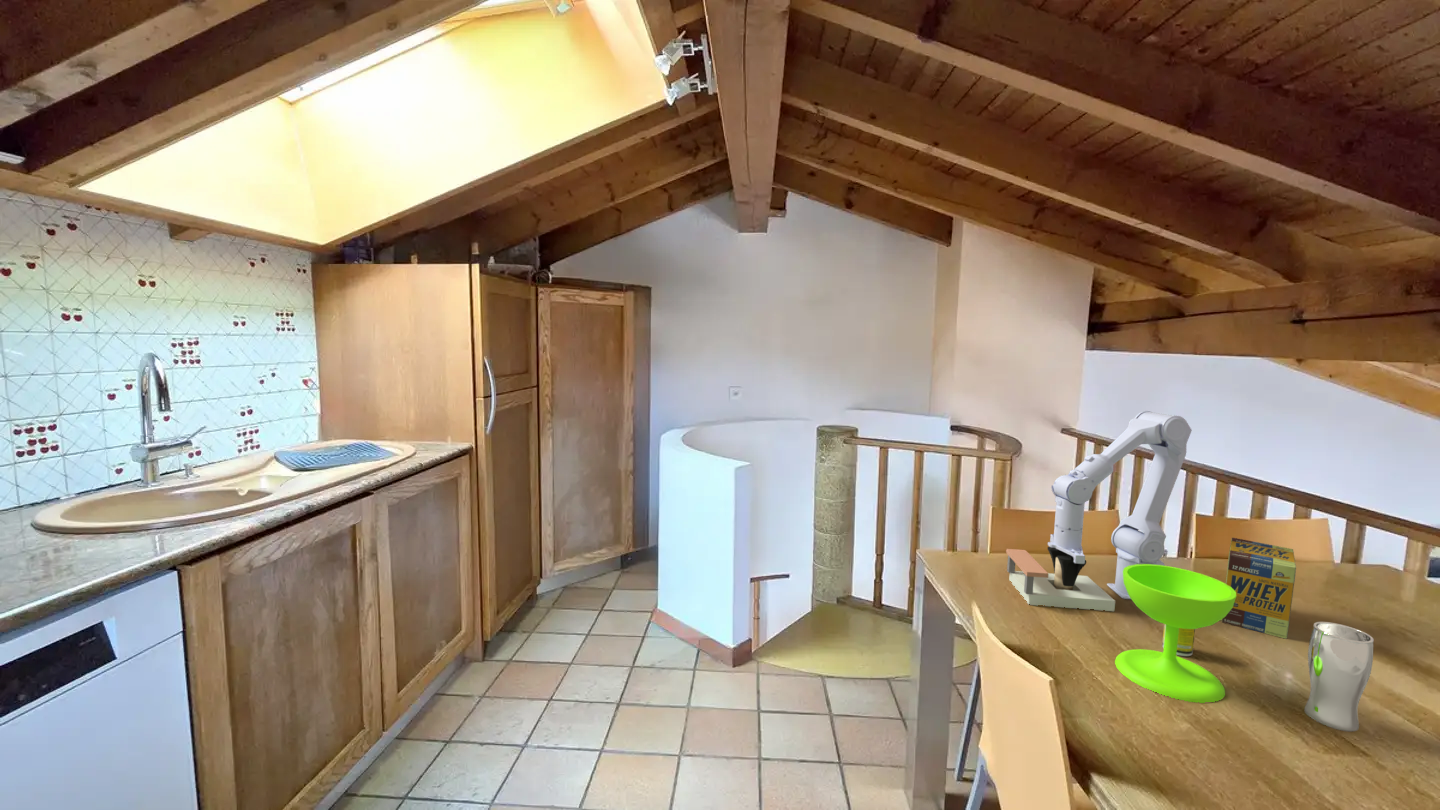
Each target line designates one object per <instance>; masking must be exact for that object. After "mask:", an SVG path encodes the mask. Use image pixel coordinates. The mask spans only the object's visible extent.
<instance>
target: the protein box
mask: <svg viewBox="0 0 1440 810" xmlns="http://www.w3.org/2000/svg"><path fill="white" fill-rule="evenodd" d="M1229 545H1230V546H1229V552H1228V558H1227V559H1228V560H1227V569H1226V577H1225V584H1227V585H1228V586H1230V587H1232V588H1233V590H1234V591H1235V592H1236V599H1235V602H1234V605H1233V608H1232V609H1231V610H1230V611H1229V613H1228V614H1227V615H1226V616H1225V617H1224V618H1223V619H1222V620H1221V623H1224V624H1227V625H1231V626H1235V627H1239V628H1243V629H1246V630H1251V631H1254V632H1259V633H1263V634H1266V635H1269V636H1274V637H1278V638H1280V639H1287V638H1288V632H1289V625H1290V619H1291V610H1292V604H1293V603H1292V602H1293V596H1294V590H1295V589H1294V588H1295V582H1296V581H1295V580H1296V572H1297V565H1296V559H1295V551H1294V549H1293V548H1289V547H1284V546H1277V545H1274V544H1269V543H1263V542H1258V541H1252V540H1247V539H1242V538H1237V537H1231V540H1230V544H1229Z"/></svg>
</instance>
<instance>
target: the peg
mask: <svg viewBox="0 0 1440 810" xmlns="http://www.w3.org/2000/svg"><path fill="white" fill-rule="evenodd" d="M1054 574H1055V576H1054V587H1055V588H1056V589H1061V590H1073V586H1064V585H1063V582H1062V571H1061V565H1060V562H1059V560H1058V558H1057V557H1056V562H1055V573H1054Z"/></svg>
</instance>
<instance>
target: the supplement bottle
mask: <svg viewBox="0 0 1440 810" xmlns="http://www.w3.org/2000/svg"><path fill="white" fill-rule="evenodd" d="M1165 629H1166V624H1163V632H1162V633H1163V634H1162V642H1161V643H1162V645H1161V647H1162V648H1163V649H1164V639H1165ZM1195 632H1196V629H1183V628H1179V634H1178V644H1177V654H1176V656H1178V657H1190V656H1192V655H1193V652H1194V645H1195V643H1194V642H1195Z"/></svg>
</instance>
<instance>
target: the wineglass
mask: <svg viewBox="0 0 1440 810" xmlns="http://www.w3.org/2000/svg"><path fill="white" fill-rule="evenodd" d="M1123 581H1124V585H1125V587H1126V590H1127V592H1128V594H1129V596H1130V598H1131V599H1130V600H1131V601H1132V602H1133V604H1135V606H1136V607H1137V608H1138V609H1139V610H1140V611H1142V613H1144V614H1146V616H1148V617H1149V618H1151V619H1152V620H1154V621H1156V622H1158V623H1161V624H1163V625H1164V624H1166V629H1165V639H1164V648H1163V651H1158V650H1153V649H1144V648H1141V649H1134V648H1133V649H1128V650H1123V651H1122V652H1120V653H1119V654H1118V655H1116V656H1115V657H1116V658H1115V660H1114V664H1115V667H1116V669H1117V670H1118V671H1119V672H1120V673H1121V674H1122V675H1123V676H1124V677H1126V678H1127V679H1128V680H1130V681H1131V682H1132V683H1135V684H1136V685H1138V686H1139V687H1142V688H1144V689H1146V688H1147V689H1146V690H1148V689H1149V690H1148V691H1150V690H1152V691H1151V692H1153V691H1154V692H1153V693H1155V692H1157V693H1159V694H1158V695H1161V694H1162V695H1161V696H1164V695H1165V697H1167V696H1169V697H1168V698H1170V697H1171V699H1173V698H1175V699H1174V700H1178V699H1179V701H1182V700H1184V701H1183V702H1187V701H1188V703H1197V704H1199V703H1200V704H1206V703H1205V702H1213V703H1216V702H1220V701H1221V699H1222V700H1223V698H1224V697H1226V689H1225V687H1224V685H1223V684H1222V683H1221V681H1220V680H1219V678H1217V677H1216V676H1215V674H1213V673H1212V672H1211V671H1209V670H1207V669H1206V668H1205V667H1203V666H1201V665H1199V664H1197V663H1195V662H1192V661H1191V660H1188V659H1185V658H1183V657H1182V656H1179V655H1176V654H1177V644H1178V634H1179V628H1183V629H1195V630H1196V629H1197V630H1198V629H1202V628H1205V627H1206V628H1207V627H1210V626H1213V625H1215V624H1217V623H1218V622H1220V621H1222V619H1223V618H1224V617H1225V616H1226V615H1227V614H1228V613H1229V611H1230V610H1231V609H1232V608H1233V605H1234V602H1235V599H1236V592H1235V591H1234V590H1233V588H1232V587H1230V586H1228V585H1227V584H1226V582H1223V581H1222V580H1219V579H1216V578H1214V577H1212V576H1211V577H1210V576H1209V575H1206V574H1203V573H1200V572H1197V571H1196V572H1195V571H1193V570H1188V569H1185V568H1180V567H1174V566H1168V565H1165V566H1163V565H1153V564H1136V565H1130V566H1127V567H1125V568H1124V570H1123ZM1157 693H1156V694H1157ZM1219 700H1220V701H1219ZM1215 701H1216V702H1215ZM1198 702H1199V703H1198Z"/></svg>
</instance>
